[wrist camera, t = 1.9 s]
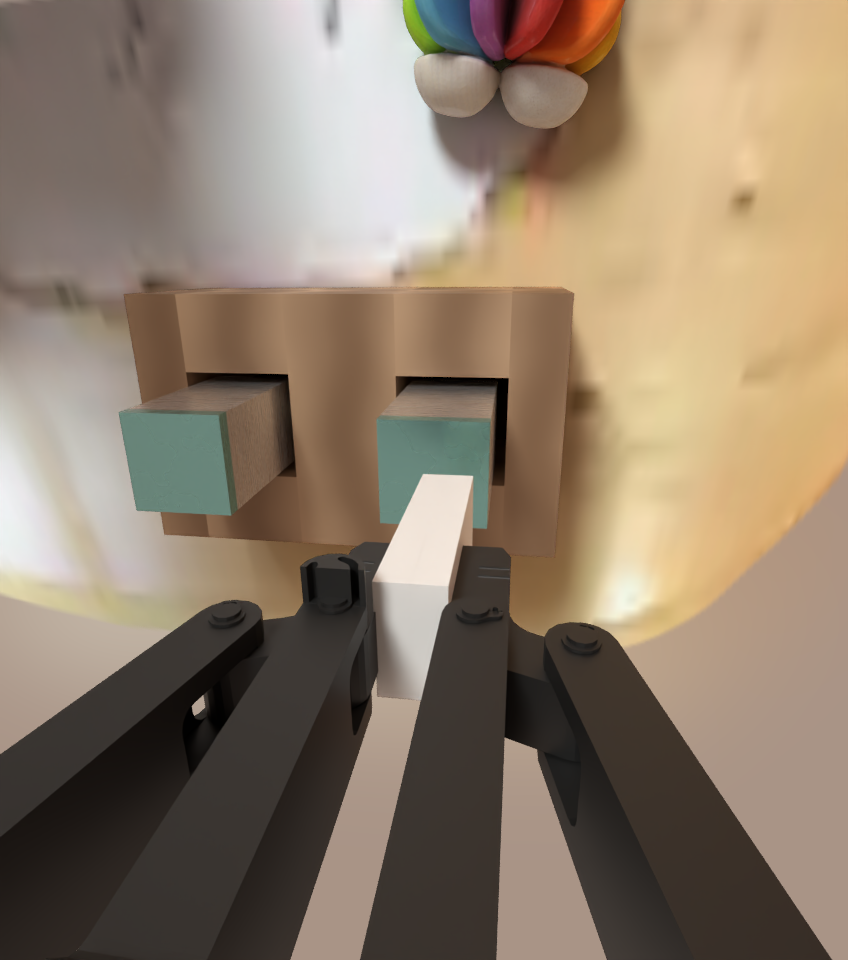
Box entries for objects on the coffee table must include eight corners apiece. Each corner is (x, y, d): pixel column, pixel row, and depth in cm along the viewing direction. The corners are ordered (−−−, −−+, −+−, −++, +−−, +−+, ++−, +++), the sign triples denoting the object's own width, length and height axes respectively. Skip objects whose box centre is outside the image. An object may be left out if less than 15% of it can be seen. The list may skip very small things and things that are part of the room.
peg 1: (227, 452, 31) (136, 510, 24) (217, 375, 30) (118, 412, 22) (300, 455, 31) (231, 515, 23) (294, 377, 29) (218, 415, 22)
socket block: (232, 482, 39) (164, 534, 31) (208, 288, 35) (123, 294, 27) (547, 496, 36) (554, 557, 28) (560, 287, 32) (574, 293, 24)
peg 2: (414, 459, 30) (380, 523, 22) (413, 379, 29) (376, 419, 21) (494, 462, 29) (486, 528, 22) (497, 380, 28) (490, 422, 21)
